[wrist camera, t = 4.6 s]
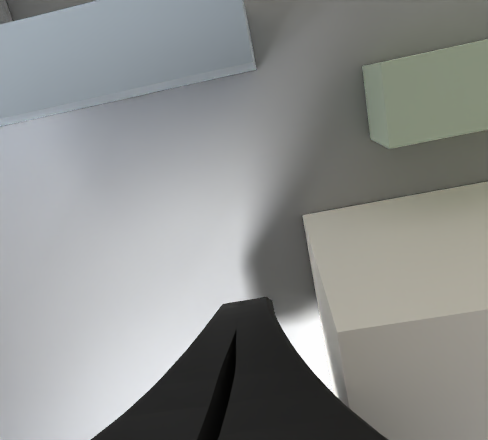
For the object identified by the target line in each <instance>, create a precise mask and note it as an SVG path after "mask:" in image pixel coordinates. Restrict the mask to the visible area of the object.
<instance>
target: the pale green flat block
mask: <svg viewBox="0 0 488 440" xmlns="http://www.w3.org/2000/svg"><path fill="white" fill-rule="evenodd" d="M362 70H363V79H364V87H365V96H366V105H367V114H368V123H369V132H370V139H371V140H373V141H375V142H377V143H379V144H381V145H382V146H384V147H386V148H388V149H393V148H398V147H403V146H408V145H413V144H418V143H423V142H428V141H434V140H439V139H444V138H449V137H454V136H459V135H464V134H469V133H475V132H480V131H485V130H488V39H485V40H480V41H476V42H471V43H466V44H462V45H457V46H453V47H448V48H443V49H439V50H434V51H430V52H425V53H420V54H416V55H411V56H407V57H402V58H397V59H393V60H388V61H384V62H379V63H374V64H370V65H365V66H362Z"/></svg>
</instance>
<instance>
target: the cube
mask: <svg viewBox="0 0 488 440" xmlns="http://www.w3.org/2000/svg"><path fill="white" fill-rule="evenodd" d="M302 216H303V222H304V228H305V234H306V240H307V245H308V251H309V257H310V263H311V269H312V274H313V280H314V286H315V292H316V298H317V303H318V309H319V315H320V321H321V327H322V332H323V338H324V344H325V350H326V356H327V362H328V367H329V373H330V379H331V384H332V388H333V393H334V395H335V396H336V397H337V398H339V399H340V400H341V401H342V402H343V403H344V404H345V405H346V406H347V407H348V408H350V409H351V410H352V411H353V412H354V413H356V414H357V415H358V416H359V417H360V418H362V419H363V420H364V421H365V422H367V423H368V424H369V425H370V426H371V427H373V428H374V429H375V430H376V431H378V432H379V433H380V434H381V435H383V436H384V437H386V438H387V439H388V440H488V181H487V182H481V183H476V184H470V185H465V186H459V187H454V188H448V189H443V190H437V191H432V192H426V193H421V194H415V195H410V196H404V197H399V198H393V199H388V200H382V201H377V202H371V203H366V204H361V205H355V206H350V207H344V208H339V209H333V210H328V211H322V212H317V213H311V214H306V215H302Z"/></svg>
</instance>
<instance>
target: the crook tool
mask: <svg viewBox="0 0 488 440" xmlns="http://www.w3.org/2000/svg"><path fill="white" fill-rule="evenodd" d="M9 22H13V20H12V17H11V14H10V11H9V8H8V6H7V3H6V0H0V25H1V24H5V23H9Z"/></svg>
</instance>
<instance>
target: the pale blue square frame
mask: <svg viewBox="0 0 488 440" xmlns="http://www.w3.org/2000/svg"><path fill="white" fill-rule="evenodd" d="M253 70H257V68H256V63H255V57H254V52H253V47H252V41H251V36H250V30H249V25H248V20H247V14H246V9H245V5H244V1H243V0H96V1H92V2H88V3H84V4H80V5H76V6H72V7H68V8H65V9H61V10H57V11H53V12H49V13H45V14H41V15H37V16H33V17H29V18H25V19H21V20H17V21H13V22H9V23H5V24H1V25H0V127H1V126H5V125H10V124H14V123H19V122H23V121H28V120H32V119H37V118H41V117H46V116H50V115H55V114H59V113H64V112H68V111H73V110H77V109H82V108H86V107H91V106H95V105H100V104H104V103H109V102H113V101H118V100H122V99H127V98H131V97H136V96H140V95H145V94H149V93H154V92H158V91H163V90H167V89H172V88H176V87H181V86H185V85H190V84H194V83H199V82H203V81H208V80H212V79H217V78H221V77H226V76H230V75H235V74H239V73H244V72H248V71H253Z"/></svg>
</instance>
